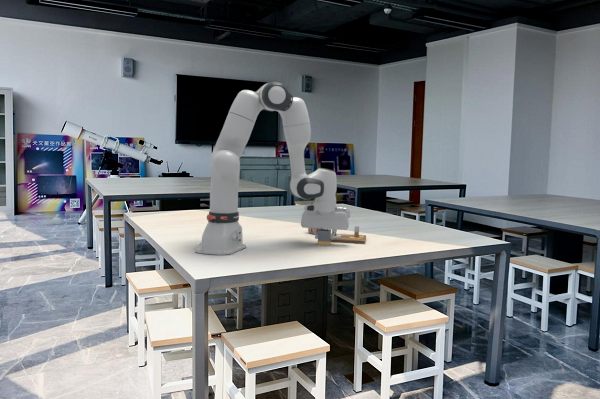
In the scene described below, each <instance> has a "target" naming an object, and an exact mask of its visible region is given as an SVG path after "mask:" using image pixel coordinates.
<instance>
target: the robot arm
mask: <svg viewBox="0 0 600 399" xmlns="http://www.w3.org/2000/svg"><path fill="white" fill-rule="evenodd" d="M261 111H266V112H274V111H275V112H278V113H279V115H280V118H281V120H282V126H283V127H282V128H283V133H284V138H285V142H286V147H287V150H288V161H289V168H290V176H289V180H288V190H289V192H290V194H291V195H292V196H293V197H295V198H297V199H298V198H300V199H303V200H313V199H315V200H314V202H311V203H308V204H306V205H304V206H303V207H304V211H303V212H302V215H301V221H300V226H301V228H306V229H308V228H313V232H314V234H313V235H314V239H315V240H318V234H317V233H316V229H317V228H319V229H331V230H332V229H333V232H334V233H333V235H330V240H334V235H335V233H336V234H337V230H340V231H347V230H348V229H349V227H350V223H349V222H350V221H349V220H350V217H351V212H350V210H349V208H348V207H339V206H337V196H336V194H337V187H338V186H337V182H338V181H337V179H338V178H337V174H336V172H335V171H334V170H333V169H329V168H323V167H319V168H317V169H316V170H315V171H313V172H311V173H309V174H307V172H306V165H305V149H306V147H307V145H308V144H309V143H310V141H311V137H312V128H311V120H310V117H309V112H308V111H309V110H308V108H307V105H306V102H305V101H304V99H302V98H301V97H297V96H293V94H292V93H291V92H290V91H289V89H288V87H287V86H286V85H285V84H283V83H282V82H279V81H271V82H267V83H265V84H263V85H262V86H260V87H259V88H258V89H256V91H253V90H249V89H243V90H241V91H239V92H238V93H237V95H236V97H235V98H234V100H233V102H232V104H231V106H230V108H229V110H228V114H227V116H226V119H225V121H224V124H223V127H222V129H221V131H220V133H219V136H218V138H217V140H216V143H215V145H214V148H213V150H212V153H211V155H210V158H209V167H210V187H209V189H210V190H209V212H208V214H207V215H206V220H207V224H206V226H205V227H204V230H203V232H202V236H201V242H200V244H199V245H198V246H197V247H196V249H195V253H196V254H197V253H198V254H204V255H220V256H222V255H232V254H233V253H236V252H238V251H241V250H243V249H246V248H247V244H246V243H243V238H244V237H243V226H242V225H241V224H240V223H239V219H240V218H239V217H240V212H239V209H238V208H239V186H240V173H241V172H240V171H241V161H240V158H241V157H242V154H243V152H244V149H245V148H246V145H247V144H248V141H249V140H250V137H251V134H252V131H253V129H254V126H255V123H256V120H257V118H258V116H259V114H260V112H261Z"/></svg>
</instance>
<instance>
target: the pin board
mask: <svg viewBox="0 0 600 399" xmlns="http://www.w3.org/2000/svg"><path fill="white" fill-rule="evenodd" d="M333 233H334V232H333V229H331V235H333ZM366 239H367V235H365V234H364V235H363V234H360V226H358V225H356V226H354V233H353V234H347V233H346V234H345V233H337V232H336V233H335V235H334V240H331V243H343V244H357V245H358V244H360V245H366Z"/></svg>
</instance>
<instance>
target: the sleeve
mask: <svg viewBox="0 0 600 399" xmlns="http://www.w3.org/2000/svg"><path fill="white" fill-rule="evenodd" d="M331 233H332V229H319V230H318V239H317V245H318V246H331V244H332V242H331V240H330V235H331Z"/></svg>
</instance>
